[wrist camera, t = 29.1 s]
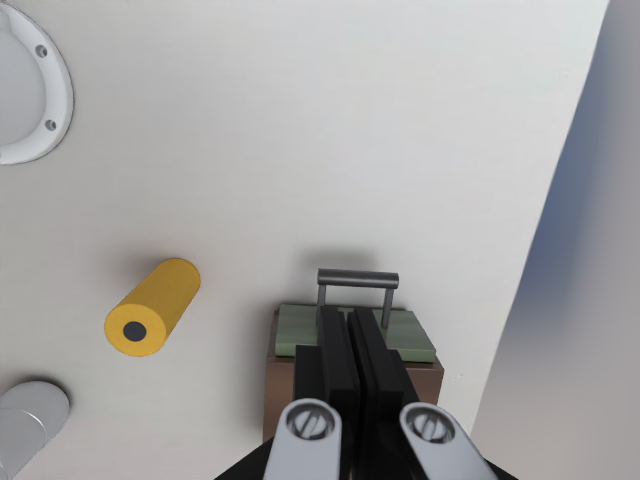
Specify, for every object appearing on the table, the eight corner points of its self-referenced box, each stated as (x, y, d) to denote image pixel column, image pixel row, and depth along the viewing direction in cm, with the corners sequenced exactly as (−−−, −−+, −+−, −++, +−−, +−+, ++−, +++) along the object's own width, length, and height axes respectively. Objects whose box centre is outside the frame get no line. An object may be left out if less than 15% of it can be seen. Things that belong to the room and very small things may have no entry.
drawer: (283, 253, 34) (278, 282, 28) (421, 262, 35) (448, 292, 29) (273, 422, 40) (267, 479, 33) (392, 426, 41) (409, 482, 34)
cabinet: (274, 310, 37) (266, 362, 29) (413, 317, 38) (444, 369, 30) (267, 432, 41) (259, 507, 33) (392, 435, 42) (414, 509, 34)
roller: (153, 256, 35) (99, 303, 25) (200, 259, 35) (164, 306, 26) (155, 298, 36) (105, 356, 27) (200, 300, 36) (166, 359, 27)
